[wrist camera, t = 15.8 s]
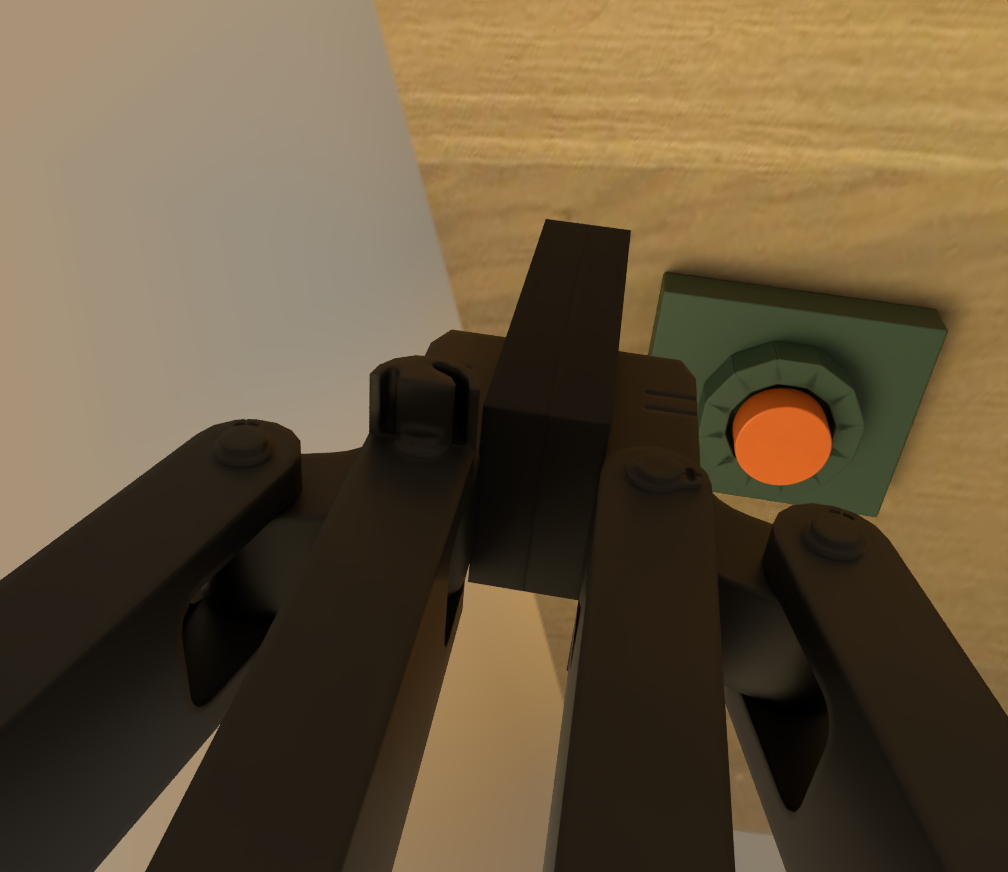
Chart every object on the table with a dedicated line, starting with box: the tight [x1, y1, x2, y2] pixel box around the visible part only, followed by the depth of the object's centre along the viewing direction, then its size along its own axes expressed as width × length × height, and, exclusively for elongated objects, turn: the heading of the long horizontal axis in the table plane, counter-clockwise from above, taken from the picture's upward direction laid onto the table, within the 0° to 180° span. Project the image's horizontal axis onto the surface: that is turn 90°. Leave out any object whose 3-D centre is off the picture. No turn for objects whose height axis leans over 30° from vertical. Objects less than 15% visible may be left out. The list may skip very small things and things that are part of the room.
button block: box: [648, 273, 948, 517], centre depth 42 cm, size 12×10×4 cm
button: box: [733, 388, 832, 485], centre depth 40 cm, size 4×4×2 cm
